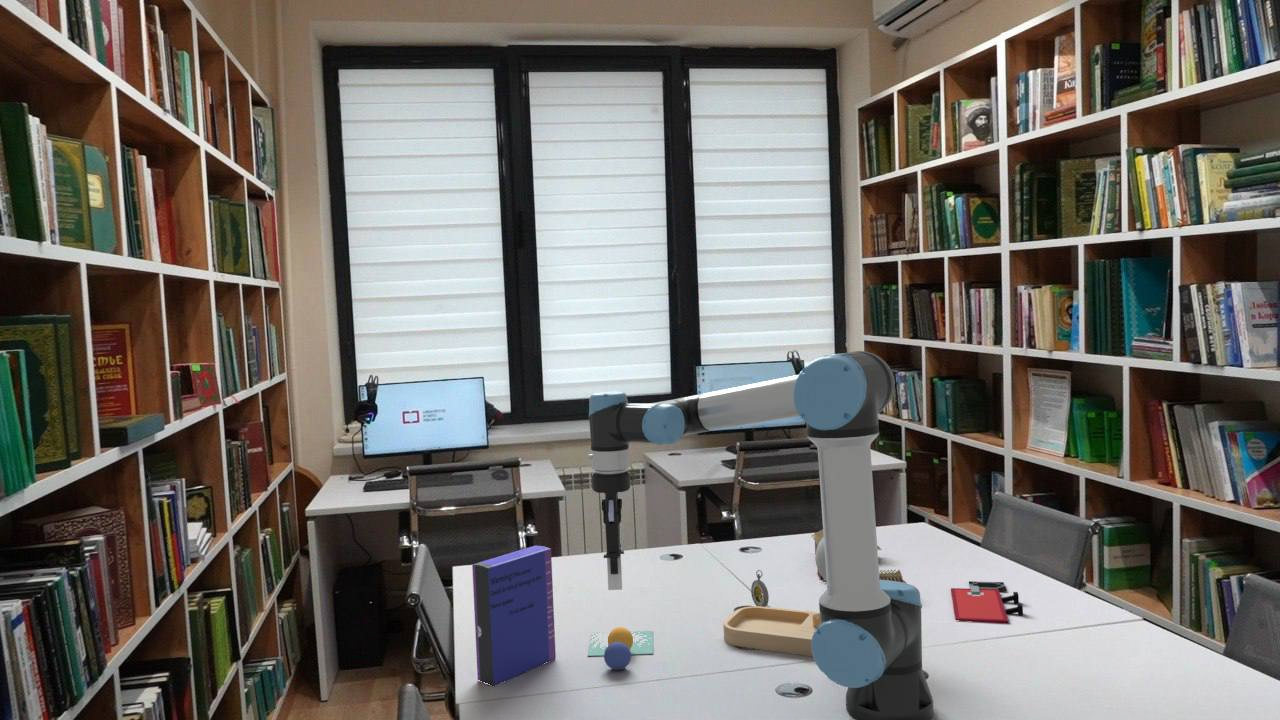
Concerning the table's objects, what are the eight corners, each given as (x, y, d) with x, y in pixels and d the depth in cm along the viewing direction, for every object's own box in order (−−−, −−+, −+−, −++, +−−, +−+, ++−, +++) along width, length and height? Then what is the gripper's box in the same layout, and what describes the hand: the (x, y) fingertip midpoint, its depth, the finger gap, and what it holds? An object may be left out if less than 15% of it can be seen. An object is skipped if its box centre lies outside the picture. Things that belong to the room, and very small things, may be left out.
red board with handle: (1011, 586, 235) (949, 584, 239) (1011, 575, 234) (949, 573, 239) (1026, 627, 206) (955, 624, 210) (1026, 615, 206) (955, 612, 210)
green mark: (653, 654, 196) (653, 653, 196) (587, 656, 196) (587, 655, 196) (652, 631, 210) (652, 630, 210) (591, 633, 210) (591, 632, 210)
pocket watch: (729, 616, 219) (727, 574, 219) (744, 605, 226) (742, 565, 226) (760, 621, 215) (759, 578, 214) (775, 610, 222) (773, 569, 221)
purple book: (539, 654, 199) (535, 544, 198) (555, 659, 196) (550, 547, 195) (477, 681, 185) (472, 563, 184) (493, 686, 182) (488, 567, 181)
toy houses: (805, 555, 271) (804, 521, 270) (876, 553, 270) (875, 519, 270) (834, 604, 226) (832, 563, 225) (918, 601, 225) (917, 561, 225)
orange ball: (632, 638, 194) (632, 621, 199) (606, 638, 194) (607, 622, 199) (633, 659, 196) (633, 641, 201) (607, 659, 196) (608, 642, 201)
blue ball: (629, 635, 190) (630, 654, 193) (603, 637, 190) (604, 655, 192) (631, 655, 185) (632, 674, 188) (604, 657, 185) (605, 676, 188)
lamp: (716, 644, 201) (712, 530, 200) (742, 619, 217) (739, 513, 215) (869, 664, 187) (866, 541, 185) (885, 636, 202) (883, 522, 201)
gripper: (593, 465, 188) (597, 579, 189) (589, 477, 175) (594, 599, 176) (630, 464, 188) (634, 578, 189) (629, 475, 175) (633, 598, 176)
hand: (615, 588), depth 182 cm, fingers closed
